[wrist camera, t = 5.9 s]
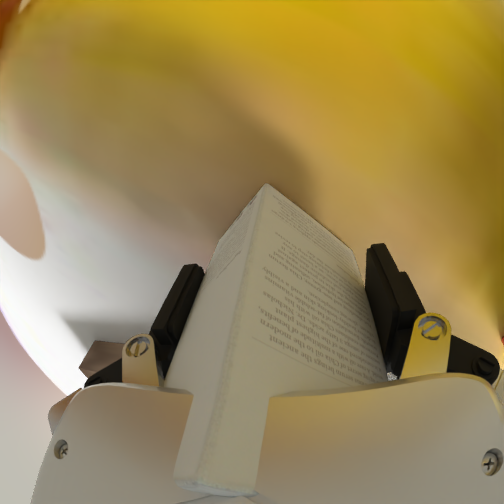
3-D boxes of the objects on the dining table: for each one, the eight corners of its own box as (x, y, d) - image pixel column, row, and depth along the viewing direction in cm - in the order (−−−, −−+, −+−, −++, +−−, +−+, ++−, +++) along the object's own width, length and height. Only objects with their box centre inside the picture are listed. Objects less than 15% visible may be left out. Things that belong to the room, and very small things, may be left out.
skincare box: (216, 240, 15) (123, 477, 4) (266, 179, 12) (192, 487, 2) (303, 298, 16) (298, 514, 6) (356, 251, 14) (411, 495, 4)
